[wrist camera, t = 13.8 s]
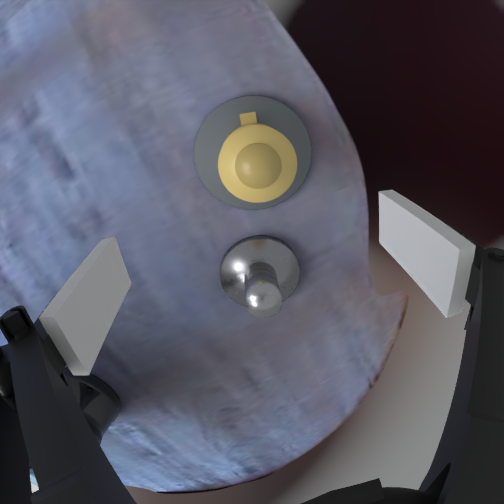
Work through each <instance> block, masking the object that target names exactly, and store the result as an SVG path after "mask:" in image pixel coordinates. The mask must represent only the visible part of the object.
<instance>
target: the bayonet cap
mask: <svg viewBox="0 0 504 504" xmlns="http://www.w3.org/2000/svg"><path fill="white" fill-rule="evenodd" d="M239 115H240V120H241V125H240V126H238V127H236V128H235V129H234V130H232V131H231V132H230V133H229V135H228V136H227V137H226V139H225V141H224V143H223V146H222V148H221V151H220V154H219V158H218V171H219V175H220V178H221V180H222V182H223V184H224V186H225V187H226V188H227V190H228V191H229V192H230V193H232V194H233V195H234V196H236V197H238V198H239V199H242V200H244V201H248V202H254V203H260V202H267V201H270V200H273V199H275V198H277V197H279V196H280V195H282V194H283V193H284V192H285V191H286V190H287V189H288V188H289V187H290V185H291V184H292V182H293V180H294V178H295V175H296V171H297V157H296V153H295V150H294V148H293V146H292V144H291V143H290V141H289V140H288V139H287V138H286V137H285V136H284V135H283V134H282V133H280V132H278V131H277V130H275V129H273V128H271V127H270V126H267V125H265V124H262V123H257V119H256V113H255V112H249V113H243V114H239Z"/></svg>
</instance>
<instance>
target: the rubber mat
mask: <svg viewBox="0 0 504 504" xmlns="http://www.w3.org/2000/svg"><path fill="white" fill-rule="evenodd" d="M249 112H255V113H256V119H257V123H262V124H265V125H267V126H270V127H271V128H273V129H275V130H277V131H278V132H280V133H282V134H283V135H284V136H285V137H286V138H287V139H288V140H289V141H290V143H291V144H292V146H293V148H294V150H295V153H296V157H297V171H296V175H295V178H294V180H293V182H292V184H291V185H290V187H289V188H288V189H287V190H286V191H285V192H284V193H283V194H282V195H280V196H279V197H277V198H275V199H273V200H270V201H267V202H260V203H254V202H248V201H244V200H242V199H239V198H238V197H236V196H234V195H233V194H232V193H230V192H229V191H228V190H227V188H226V187H225V186H224V184H223V182H222V180H221V178H220V175H219V171H218V158H219V154H220V151H221V148H222V146H223V143H224V141H225V139H226V137H227V136H228V135H229V133H230V132H231V131H232V130H234V129H235V128H236V127H238V126H240V125H241V120H240V115H239V114H243V113H249ZM311 155H312V150H311V142H310V137H309V134H308V131H307V129H306V127H305V125H304V124H303V122H302V121H301V119H300V118H299V117H298V116H297V115H296V113H295V112H294V111H292V110H291V109H290V108H289V107H287V106H286V105H284V104H283V103H281V102H279V101H276V100H274V99H271V98H268V97H262V96H243V97H239V98H235V99H232V100H230V101H227V102H225V103H223V104H222V105H220V106H219V107H217V108H216V109H215V110H213V111H212V112H211V113H210V114H209V115H208V117H207V118H206V119H205V120H204V122H203V123H202V125H201V127H200V129H199V131H198V133H197V136H196V140H195V144H194V162H195V167H196V170H197V173H198V175H199V178H200V180H201V181H202V183H203V185H204V186H205V187H206V188H207V190H208V191H209V192H210V193H211V194H212V195H213V196H215V197H216V198H217V199H219V200H220V201H222V202H224V203H225V204H228V205H230V206H233V207H236V208H240V209H247V210H257V209H264V208H269V207H272V206H275V205H277V204H279V203H281V202H283V201H284V200H286V199H287V198H289V197H290V196H291V195H292V194H294V193H295V192H296V191H297V189H298V188H299V187H300V186H301V184H302V183H303V181H304V180H305V178H306V176H307V173H308V171H309V168H310V163H311Z"/></svg>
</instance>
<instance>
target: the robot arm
mask: <svg viewBox="0 0 504 504" xmlns="http://www.w3.org/2000/svg"><path fill="white" fill-rule="evenodd" d="M379 243H380V244H381V245H382V246H383V247H384V248H385V249H386V250H387V251H388V252H389V253H390V254H391V256H392V257H394V259H395V260H396V261H397V262H398V263H399V264H400V265H401V266H402V267H403V269H404V270H405V271H406V272H407V273H408V274H409V275H410V276H411V277H412V279H413V280H414V281H415V282H416V283H417V284H418V285H419V287H420V288H421V289H422V290H423V291H424V292H425V293H426V294H427V296H428V297H429V298H430V299H431V300H432V301H433V303H434V304H435V305H436V306H437V308H438V309H439V310H440V311H441V312H442V313H443V315H444V316H445V317H446V318H449V317H452V316H455V315H457V314H461V313H462V311H463V307H464V303H465V299H466V300H467V301H468V302H469V303H470V304H471V307H470V311H469V314H468V318H467V321H466V325H465V328H464V329H465V330H466V337H465V343H464V349H463V354H462V360H461V365H460V370H459V374H458V379H457V383H456V387H455V392H454V396H453V399H452V403H451V407H450V410H449V414H448V417H447V421H446V424H445V427H444V430H443V433H442V437H441V440H440V442H439V445H438V448H437V451H436V454H435V457H434V459H433V462H432V465H431V467H430V469H429V472H428V473H427V475H426V477H425V479H424V480H423V482H422V484H421V486H420V488H419V490H414V489H408V488H400V487H396V488H395V487H385V488H382V486H381V482H380V480H379V478H378V479H375V480H371V481H368V482H365V483H361V484H357V485H353V486H350V487H345V488H341V489H337V490H333V491H330V492H327V493H325V494H323V495H321V496H318V497H316V498H314V499H311V500H309V501H306V502H304V503H301V504H504V250H503V249H499V248H487V249H484V248H483V247H481V246H480V245H478V244H477V243H476V242H475V241H473V240H472V239H469V237H467V236H466V235H465V234H463V233H462V232H460V231H459V230H458V229H456V228H454V227H451V226H449V225H446V224H445V223H443V222H442V221H440V220H439V219H437V218H436V217H434V216H433V215H431V214H430V213H428V212H427V211H425V210H424V209H422V208H420V207H419V206H418V205H416V204H414V203H413V202H411V201H410V200H408V199H406V198H405V197H403V196H401V195H400V194H398V193H397V192H395V191H393V190H387V191H380V192H379ZM131 284H132V283H131V281H130V278H129V275H128V273H127V270H126V267H125V264H124V262H123V259H122V256H121V253H120V250H119V247H118V244H117V241H116V238H115V237H110V238H105V239H102V240H101V241H100V242H99V243H98V244H97V246H96V247H95V248H94V249H93V250H92V251H91V253H90V254H89V255H88V256H87V257H86V258H85V260H84V261H83V262H82V263H81V264H80V266H79V267H78V268H77V269H76V270H75V272H74V273H73V274H72V275H71V277H70V278H69V279H68V280H67V281H66V283H65V284H64V285H63V287H62V288H61V289H60V290H59V292H58V293H57V294H56V295H55V296H54V297H53V299H52V300H51V301H50V303H49V304H48V305H47V307H46V308H45V310H44V311H43V312H42V313H41V315H40V316H39V317H38V319H37V320H36V322H35V323H34V324H33V322H32V320H31V319H30V317H29V315H28V313H27V311H26V309H25V308H24V306H16V307H14V308H11V309H10V310H8V311H7V312H5V313H4V314H3V315H2V316H1V317H0V329H1V331H2V333H3V334H4V336H5V338H6V339H7V341H8V344H7V345H4V346H0V504H136V502H135V501H134V499H133V498H132V496H131V495H130V494H129V492H128V491H127V489H126V488H125V486H124V485H123V483H122V482H121V480H120V478H119V477H118V475H117V474H116V472H115V470H114V469H113V467H112V466H111V464H110V462H109V461H108V459H107V457H106V455H105V454H104V452H103V450H102V448H101V447H100V444H101V440H102V437H103V435H104V433H105V432H106V431H107V429H108V428H109V426H110V425H111V424H112V422H114V421H115V419H116V418H117V416H118V414H119V410H120V406H121V404H120V400H119V398H118V396H117V394H116V393H115V392H114V391H113V390H112V389H111V388H110V387H109V386H108V385H107V384H106V383H104V382H103V381H102V380H100V379H98V378H97V377H95V376H93V375H91V374H90V372H91V370H92V367H93V365H94V363H95V360H96V358H97V356H98V354H99V351H100V349H101V347H102V345H103V342H104V340H105V338H106V336H107V334H108V331H109V329H110V327H111V325H112V323H113V321H114V319H115V317H116V315H117V312H118V310H119V308H120V306H121V304H122V302H123V300H124V298H125V296H126V294H127V292H128V290H129V288H130V286H131ZM65 365H67V366H68V368H64V367H65ZM31 483H33V484H35V485H37V486H38V487H39V490H38V491H36V492H34V493H32V491H31Z"/></svg>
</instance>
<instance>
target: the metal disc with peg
mask: <svg viewBox="0 0 504 504" xmlns="http://www.w3.org/2000/svg"><path fill="white" fill-rule="evenodd" d="M299 276H300V269H299V264H298V261H297V258H296V256H295V254H294V252H293V251H292V249H291V248H290V247H289V246H288V245H287V244H286V243H284V242H283V241H281V240H279V239H277V238H274V237H270V236H262V235H259V236H251V237H248V238H245V239H242V240H240V241H238V242H237V243H236V244H234V245H233V246H232V247H231V248H230V249H229V250H228V251H227V253H226V254H225V256H224V258H223V260H222V264H221V271H220V279H221V284H222V287H223V289H224V291H225V292H226V294H227V295H228V296H229V297H230V298H231V299H232V300H233V301H235V302H237V303H238V304H240V305H243V306H246V309H247V311H248V312H249V313H250V314H251V315H253V316H255V317H257V318H269V317H272V316H274V315H275V314H277V313H278V312H279V310H280V309H281V307H282V302H283V301H284V300H285V299H287V298H288V297H289V296H290V295H291V294H292V293H293V291H294V290H295V288H296V286H297V284H298V281H299Z"/></svg>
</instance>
